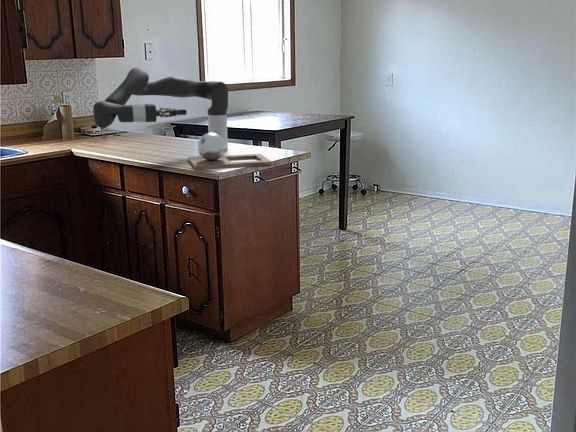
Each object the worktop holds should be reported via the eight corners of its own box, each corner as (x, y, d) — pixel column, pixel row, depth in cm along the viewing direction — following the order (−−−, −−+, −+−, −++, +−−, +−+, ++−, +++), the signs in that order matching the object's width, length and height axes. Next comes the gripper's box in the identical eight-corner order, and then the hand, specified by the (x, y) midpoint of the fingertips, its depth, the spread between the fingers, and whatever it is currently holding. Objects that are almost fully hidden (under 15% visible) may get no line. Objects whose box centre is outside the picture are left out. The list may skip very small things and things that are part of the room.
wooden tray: (188, 160, 280) (187, 157, 279) (260, 156, 289) (259, 153, 288) (195, 169, 259) (194, 166, 259) (272, 165, 268) (272, 161, 268)
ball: (196, 159, 276) (194, 131, 272) (223, 157, 279) (222, 130, 276) (200, 163, 264) (199, 135, 261) (228, 161, 268) (227, 133, 264)
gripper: (144, 105, 252) (187, 104, 256) (142, 102, 264) (183, 101, 269) (145, 124, 254) (188, 122, 258) (143, 120, 266) (184, 119, 271)
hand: (186, 111), depth 263 cm, fingers closed
